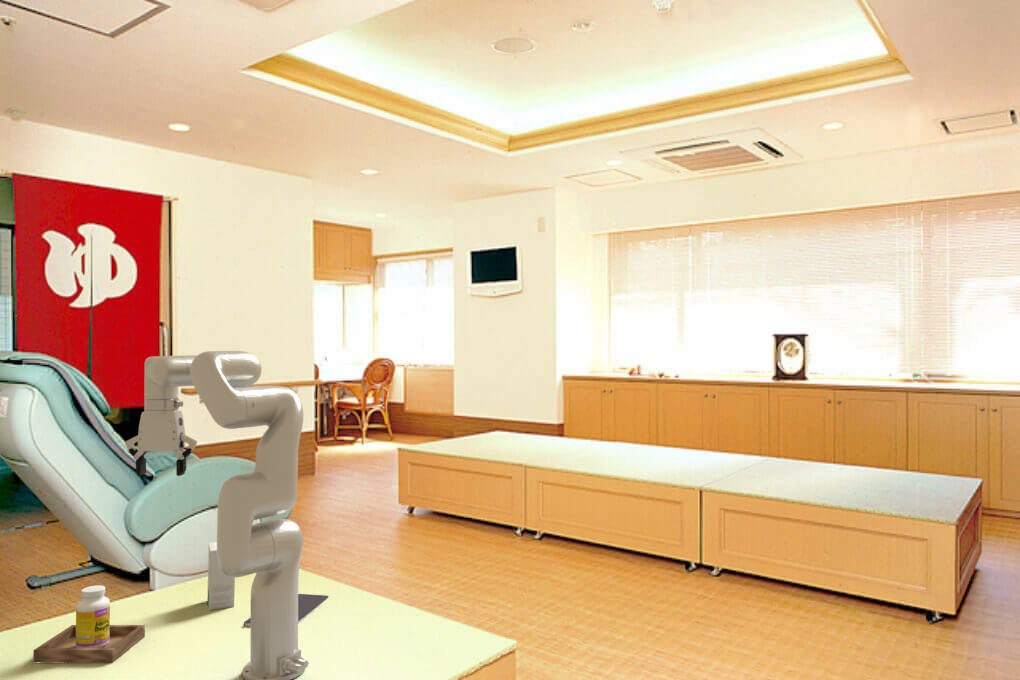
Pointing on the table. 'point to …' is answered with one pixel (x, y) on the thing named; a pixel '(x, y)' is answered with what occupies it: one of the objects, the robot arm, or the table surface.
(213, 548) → the skincare box
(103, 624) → the supplement bottle
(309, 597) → the notebook
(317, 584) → the table surface
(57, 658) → the holder tray
